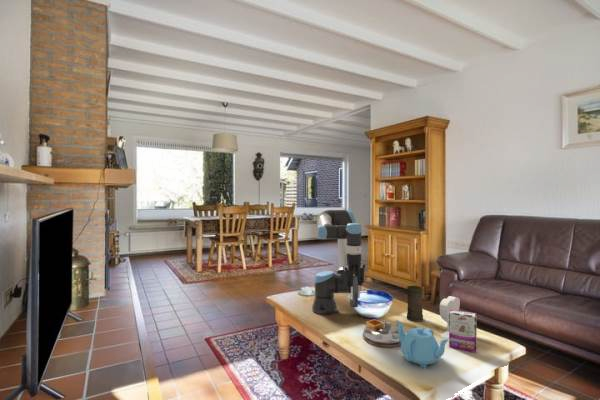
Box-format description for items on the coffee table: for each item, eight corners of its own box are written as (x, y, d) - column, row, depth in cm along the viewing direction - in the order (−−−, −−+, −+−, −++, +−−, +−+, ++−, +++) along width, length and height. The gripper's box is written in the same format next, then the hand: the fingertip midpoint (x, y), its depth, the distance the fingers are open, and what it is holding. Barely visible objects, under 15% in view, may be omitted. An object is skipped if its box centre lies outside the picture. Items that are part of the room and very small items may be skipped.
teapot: (395, 349, 149) (395, 319, 149) (441, 353, 146) (441, 322, 145) (399, 368, 133) (399, 334, 133) (450, 373, 130) (450, 338, 129)
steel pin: (348, 305, 171) (348, 275, 170) (354, 304, 173) (354, 274, 172) (353, 308, 167) (353, 277, 167) (359, 306, 169) (359, 275, 169)
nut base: (354, 335, 165) (354, 333, 165) (383, 326, 175) (383, 325, 175) (383, 351, 147) (383, 349, 147) (413, 341, 157) (413, 339, 157)
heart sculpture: (451, 327, 173) (451, 293, 173) (461, 330, 170) (461, 296, 169) (437, 336, 163) (438, 300, 163) (448, 339, 159) (448, 302, 159)
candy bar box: (476, 348, 150) (476, 313, 150) (476, 353, 146) (476, 316, 145) (450, 343, 156) (450, 308, 155) (448, 347, 151) (448, 312, 151)
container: (424, 322, 180) (424, 290, 180) (407, 321, 182) (407, 289, 182) (422, 316, 189) (422, 285, 189) (405, 315, 191) (405, 284, 190)
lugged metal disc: (412, 338, 158) (412, 329, 158) (383, 348, 148) (383, 338, 148) (383, 325, 174) (383, 316, 174) (356, 332, 165) (356, 323, 164)
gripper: (345, 256, 161) (345, 303, 162) (371, 252, 170) (371, 297, 171) (336, 253, 168) (336, 298, 169) (361, 250, 176) (361, 293, 177)
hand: (353, 298), depth 170 cm, fingers closed on steel pin, 4 cm apart
